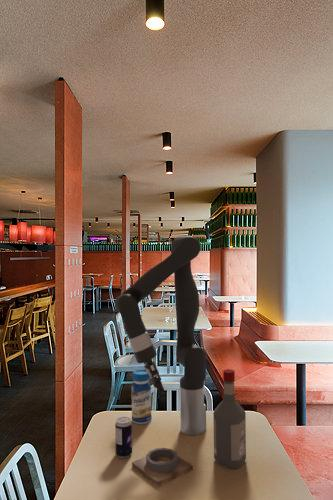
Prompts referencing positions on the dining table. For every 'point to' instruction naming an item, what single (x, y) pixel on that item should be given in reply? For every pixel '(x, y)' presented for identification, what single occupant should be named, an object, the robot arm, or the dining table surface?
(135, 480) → the dining table surface
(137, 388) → the beverage bottle
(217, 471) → the dining table surface
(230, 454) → the liquor
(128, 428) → the beverage can
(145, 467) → the base plate
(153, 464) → the collar
